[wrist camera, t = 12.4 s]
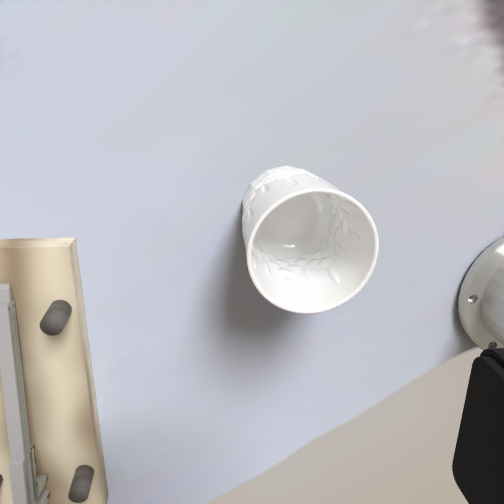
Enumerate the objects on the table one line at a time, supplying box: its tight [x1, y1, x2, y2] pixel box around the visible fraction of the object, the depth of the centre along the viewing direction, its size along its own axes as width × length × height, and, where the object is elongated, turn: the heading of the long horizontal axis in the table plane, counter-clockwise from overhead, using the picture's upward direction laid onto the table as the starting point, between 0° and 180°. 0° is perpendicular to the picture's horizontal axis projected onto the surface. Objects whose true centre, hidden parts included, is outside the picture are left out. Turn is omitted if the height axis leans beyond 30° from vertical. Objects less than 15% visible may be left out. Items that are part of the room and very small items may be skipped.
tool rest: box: [0, 238, 108, 504], centre depth 38 cm, size 10×26×4 cm, turn 179°
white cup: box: [242, 166, 379, 314], centre depth 32 cm, size 8×8×10 cm
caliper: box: [0, 283, 50, 504], centre depth 35 cm, size 20×1×6 cm, turn 0°
